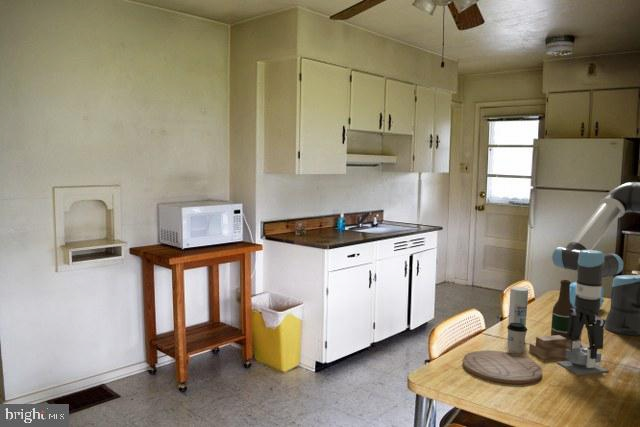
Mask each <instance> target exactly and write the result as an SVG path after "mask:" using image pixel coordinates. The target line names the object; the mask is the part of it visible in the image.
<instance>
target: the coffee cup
mask: <svg viewBox="0 0 640 427" xmlns="http://www.w3.org/2000/svg"><path fill="white" fill-rule="evenodd" d="M506 328H507V338H508V339H507V341H508V351H509V353H512V354H517V355H519V354H522V353H523V350H524V345H525V340H526V336H527V331H528V327H527V326H526V327H525V326H524V325H523V324H521V323H510V325H507V327H506Z"/></svg>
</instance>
